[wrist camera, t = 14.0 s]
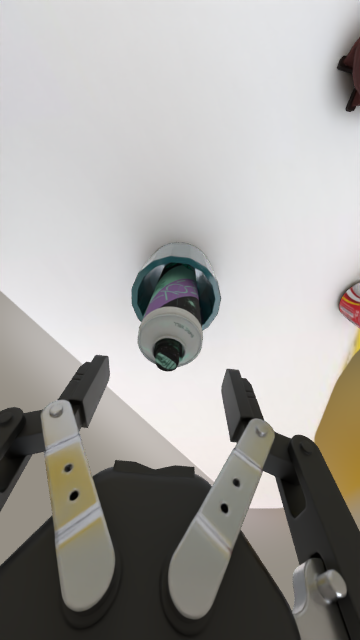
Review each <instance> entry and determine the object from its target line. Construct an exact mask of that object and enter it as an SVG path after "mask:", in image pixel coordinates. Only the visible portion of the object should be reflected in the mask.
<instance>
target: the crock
mask: <svg viewBox="0 0 360 640" xmlns="http://www.w3.org/2000/svg"><path fill="white" fill-rule="evenodd" d="M171 262H173V263H182V264H189V265H190V266H192V267H193V269H194V271H195V274H196V281H197V289H198V298H199V306H200V315H201V323H202V331H203V330H204V329H206V328H207V327H209V325H210V324H211V322H212V321H213V320H214V318H215V317H216V316H217V314H218V310H219V306H220V301H221V296H220V291H219V286H218V282H217V279H216V277H215V274H214V272H213V269H212V267H211V264H210V262H209V261H208V259H207V258H206V256H205V255H204V253H203V252H202V251H200V250H199V249H198V248H197V247H195V246H193V245H191V244H188V243H183V242H175V243H170V244H167V245H164V246H162V247H161V248H160V249H158V250H157V251H156V252H155V253H154V254H153V255H152V256H151V257H150V258H149V260H148V261H147V262H146V264H145V265H144V266H143V268H142V269H141V270H140V272H139V273H138V275H137V277H136V280H135V282H134V284H133V286H132V306H133V308H134V311H135V313H136V315H137V317H138V319H139V320H140V321H141V322H142V320H143V317H144V315H145V312H146V310H147V307H148V305H149V302H150V300H151V297H152V295H153V292H154V290H155V287H156V285H157V282H158V280H159V278H160V275H161V273H162V270H163V268H164V267H165V266H166V265H167V264H168V263H171Z"/></svg>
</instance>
